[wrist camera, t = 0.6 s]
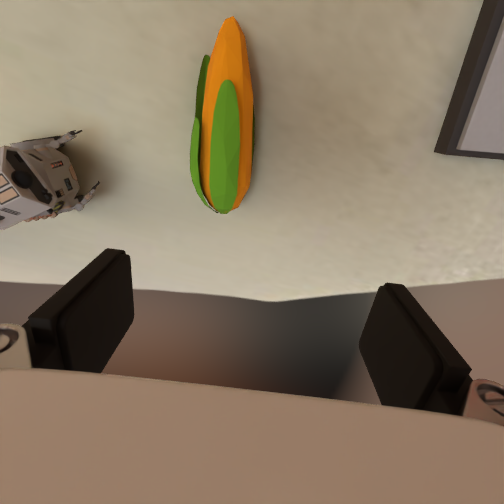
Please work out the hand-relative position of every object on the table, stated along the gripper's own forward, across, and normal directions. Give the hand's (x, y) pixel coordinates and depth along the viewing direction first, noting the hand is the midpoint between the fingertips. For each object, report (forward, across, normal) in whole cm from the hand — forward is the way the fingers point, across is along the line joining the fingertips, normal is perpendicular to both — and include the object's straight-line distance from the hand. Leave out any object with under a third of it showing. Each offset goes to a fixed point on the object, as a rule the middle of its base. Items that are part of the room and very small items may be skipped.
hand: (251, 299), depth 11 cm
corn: (+30, +5, -4) cm, 31 cm away
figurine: (+30, +24, +4) cm, 39 cm away
